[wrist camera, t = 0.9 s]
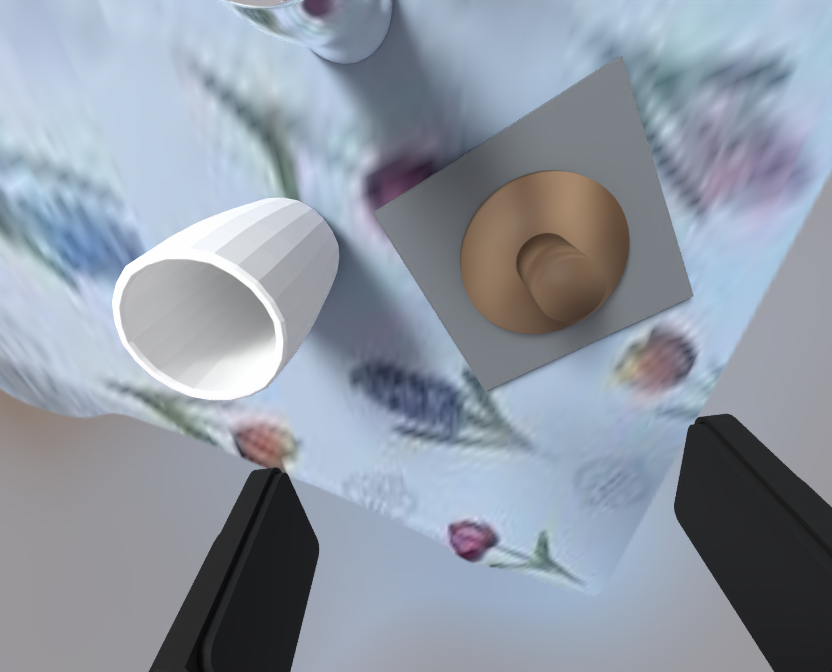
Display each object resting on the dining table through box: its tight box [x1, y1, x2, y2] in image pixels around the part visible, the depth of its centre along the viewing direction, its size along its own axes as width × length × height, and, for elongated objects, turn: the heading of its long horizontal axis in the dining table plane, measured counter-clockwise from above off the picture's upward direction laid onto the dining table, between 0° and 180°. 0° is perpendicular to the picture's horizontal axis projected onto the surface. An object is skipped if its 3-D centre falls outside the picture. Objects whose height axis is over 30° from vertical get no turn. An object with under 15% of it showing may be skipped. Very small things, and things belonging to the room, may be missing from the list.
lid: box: [460, 170, 630, 334], centre depth 27 cm, size 12×12×7 cm
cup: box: [112, 198, 339, 400], centre depth 24 cm, size 8×8×14 cm
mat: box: [373, 56, 693, 391], centre depth 30 cm, size 18×18×1 cm
